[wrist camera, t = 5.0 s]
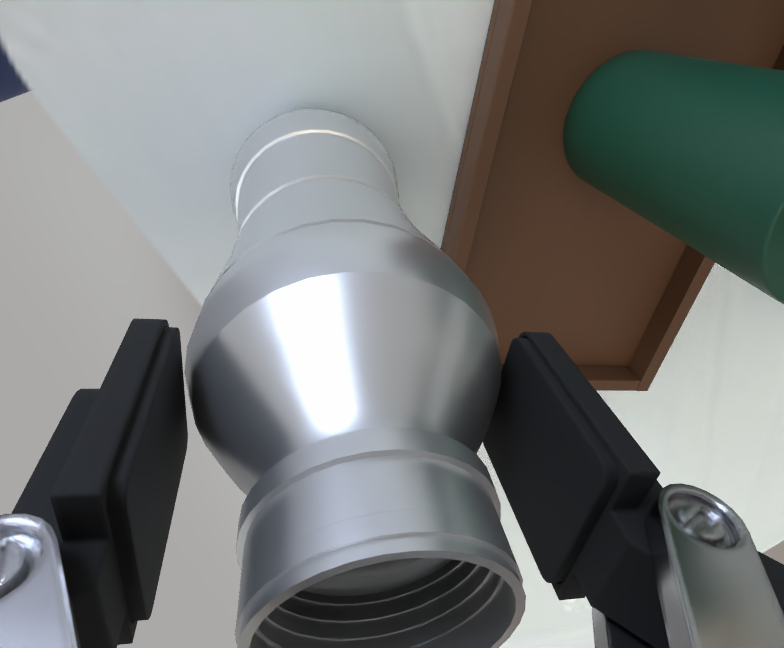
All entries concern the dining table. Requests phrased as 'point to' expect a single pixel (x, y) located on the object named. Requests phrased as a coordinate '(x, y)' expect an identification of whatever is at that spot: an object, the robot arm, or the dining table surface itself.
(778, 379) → the dining table surface
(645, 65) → the green bottle
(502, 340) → the tray
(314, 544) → the silver metal bottle
